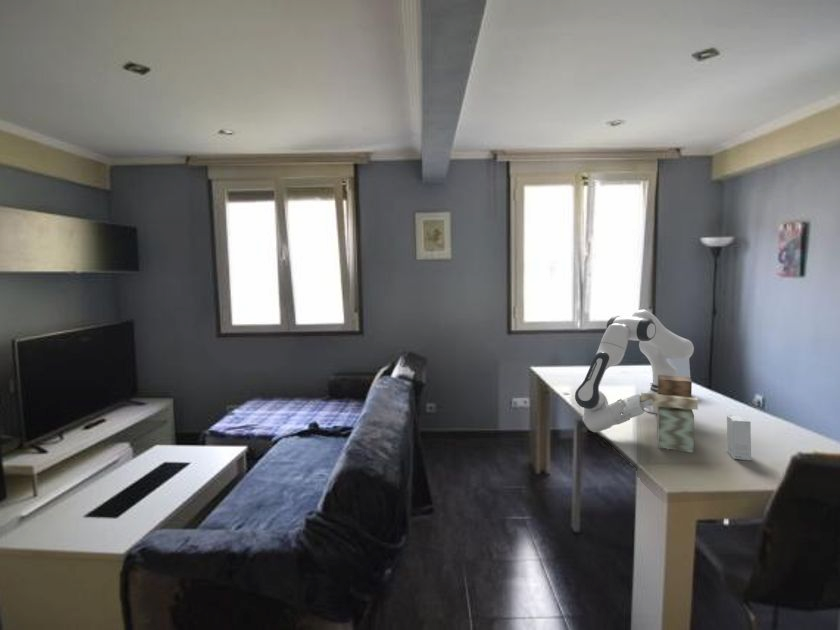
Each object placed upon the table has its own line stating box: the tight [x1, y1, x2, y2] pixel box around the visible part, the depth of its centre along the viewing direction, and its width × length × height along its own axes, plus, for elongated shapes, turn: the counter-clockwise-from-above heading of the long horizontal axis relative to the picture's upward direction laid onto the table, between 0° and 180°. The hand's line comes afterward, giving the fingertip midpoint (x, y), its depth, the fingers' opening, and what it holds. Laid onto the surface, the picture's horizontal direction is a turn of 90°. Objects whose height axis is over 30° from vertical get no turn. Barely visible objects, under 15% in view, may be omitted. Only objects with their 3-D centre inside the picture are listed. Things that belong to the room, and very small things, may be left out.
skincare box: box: [726, 415, 752, 462], centre depth 166 cm, size 8×6×15 cm
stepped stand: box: [656, 375, 695, 453], centre depth 181 cm, size 12×20×26 cm, turn 153°
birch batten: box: [640, 392, 699, 411], centre depth 178 cm, size 20×4×4 cm, turn 63°
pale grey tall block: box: [667, 358, 691, 378], centre depth 256 cm, size 15×15×28 cm
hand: (652, 398), depth 181 cm, fingers closed on birch batten, 4 cm apart
